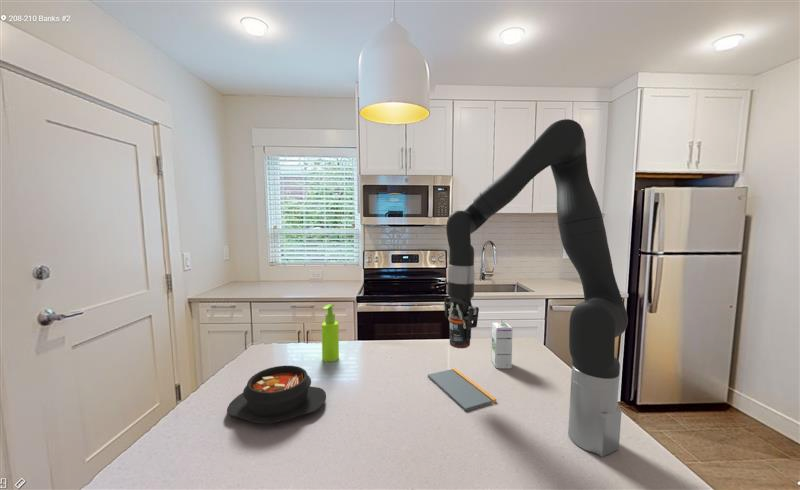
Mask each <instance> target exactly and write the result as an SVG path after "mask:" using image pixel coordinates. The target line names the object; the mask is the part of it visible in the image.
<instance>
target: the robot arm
mask: <svg viewBox="0 0 800 490" xmlns="http://www.w3.org/2000/svg"><path fill="white" fill-rule="evenodd" d="M586 141H587V140H586V135H585V132H584V129H583V128H582V125H581V124H580V123H578V122H577V121H575V120H573V119H569V118H563V119H560V120H557V121H554V122H553V123H551V124H550V125H549V126H548V127H547V128H545V130H544V131H543V132H542V133H541V134H540V135H539V136H538V137H537V138H536V139H535V141H534V142H533V143H532V144H531V145H530V146H529V147H528V149H526V150H525V151H524V153H523V154H522V155H521V156H519V158H517V160H516V161H515V162H514V163H513V164H512V165H510V167H508V169H506V170H505V171H504V172H503V173H502V174H501V175H500V176H498V177H497V178H496V179H495V180H493V181H492V182H491V183H490V184H488V185H487V187H485V188H484V189H483V190H482V191H480V192H479V193H478V194H477V195H476V196H475V197H474V199H473V202H472V203H470V204H469V205H468V206H467V207H466V208H465V209H463V210H456V211H453V212H451V213H450V215H448V217H447V220H446V237H447V242H448V247H449V248H448V249H449V255H448V258H449V259H448V269H447V270H448V272H447V296H446V297H444V298H443V301H444V302H443V303H444V305H443V306H444V316H445V318H447V320H448V321H449V322H450V315H451V314H453V308H454V307H456V308H457V311H458V313H459V318H460V320H461V321H462V324H463V341H470V342H471V338H472V329H475V328H477V326H478V319H479V307H478V306H473V305H472V299H473V298H474V296H475V249H474V246H473V245H472V242H471V240H472V239H471V234H473V233H474V232H476V231H477V230H478V229H479V228H481V227H482V226H483V225H484V224H485V223H486V222H487V221H488V220H489V218H491V217H492V216H494V215H495V214H497V213H498V212H500V211H501V210H502V209H503V208H504V207H506V206H507V205H508V204H509V203H510V202H512V201H513V200H514V199H515V198H516V197H517V196H518V195H519V194H520V193H521V191H522V190H524V188H525V187H526V186H527V185H528V184H529V183H530V182H531V181H532V180H533V179H534V178H535V177H536V176H537V175H539V174H540V173H541V172H543V171H544V170H545V169H546V168H548V167H550V169H551V172H552V176H553V178H554V183H555V188H556V217H557V223H558V224H557V226H558V230H559V235H560V239H561V240H560V241H561V244H562V247H563V249H564V251H565V253H566V256H567V257H568V258H569V260H570V263H572V265H573V267H574V268H575V269H576V272H577V273H578V276H579V279H580V282H581V285H582V292H583V298H584V301H582V302H580V303H577V304H576V305H575V306H574V307H573V309H572V310H571V313H570V316H569V328H568V329H569V330H568V333H569V334H568V335H569V336H568V337H569V339H568V341H569V343H568V344H569V345H568V348H569V349H568V350H569V353H570V356H571V359H572V360H571V361H572V362H571V375H570V377H571V378H570V395H569V407H568V408H569V409H568V410H569V411H568V426H567V427H568V429H567V430H568V431H567V434H568V437H569V439H570V440H571V441H572V442H573V443H574V444H575V445H576V446H578V447H580V448H581V449H583V450H585V451H587V452H590V453H594V454H596V455H598V456H600V457H602V458H603V457H606V456H608V455H609V454H611V453H613V452H615V451H618V450H619V449H620V438H621V423H622V411H623V410H622V408H621V407H620V406H618V402H619V401H618V399H619V389H620V388H619V387H620V373H621V372H620V371H621V364H620V361H619V360H618V358H616V357H615V349H616V348H615V347H616V346H615V345H616V343H615V341H616V338H617V337H619V336H620V335H622V334H623V333H624V332H625V331H626V329H627V328H628V323H629V317H628V312H627V310H626V305H625V303H624V301H623V298H622V295H621V291H620V289H619V286H618V283H617V281H616V277H615V276H616V275H615V274H614V267H613V263H612V256H611V252H610V248H609V243H608V235H607V232H606V227H605V222H604V217H603V215H602V210H601V206H600V204H599V200H598V197H597V195H596V194H595V190H594V189H593V187H592V184H591V180H590V176H589V169H588V162H587V161H588V159H587V144H586V143H587V142H586ZM464 315H468V317H464ZM467 319H468V321H467V324H466V320H467Z"/></svg>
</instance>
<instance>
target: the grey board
mask: <svg viewBox="0 0 800 490" xmlns="http://www.w3.org/2000/svg"><path fill="white" fill-rule="evenodd" d="M427 378H428V379H429V380H431V382H432V383H433V384H434V385H435V386H437V387H438V388H439V389H441V391H442V392H443V393H445V395H447V396H448V397H449V399H451V400H452V401H453V402H454V403H455V404H457V406H459V407H460V408H461V409H462V410H463V411H464V412H468V411H471V410H475V409H477V408H481V407H485V406H487V405H490V404H493V403H497V398H496V397H494V395H492V394H490V393H489V392H488V391H486V390H485V389H484V388H482V387H481V386H480V385H478V384H477V383H475V381H473V380H471V379H470V378H469V377H467V376H466V375H465V374H464V373H463V372H462V371H460V370H458V369H457V368H456V367H454V368H453V367H452V368H451V369H446V370H441V371H439V372H438V371H437V372H435V373H434V372H433V373H428V374H427Z"/></svg>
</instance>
